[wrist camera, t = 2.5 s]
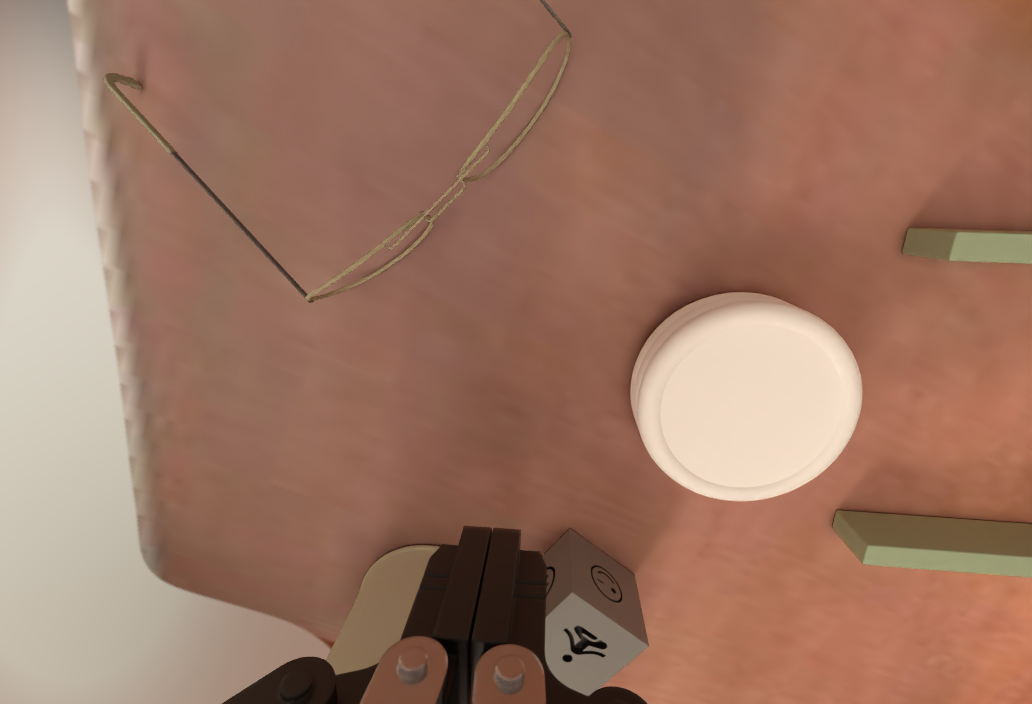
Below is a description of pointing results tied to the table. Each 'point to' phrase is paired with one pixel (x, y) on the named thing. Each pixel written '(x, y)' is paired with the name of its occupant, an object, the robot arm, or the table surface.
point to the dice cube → (589, 615)
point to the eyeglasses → (415, 221)
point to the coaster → (745, 396)
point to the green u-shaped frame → (937, 537)
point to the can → (380, 609)
